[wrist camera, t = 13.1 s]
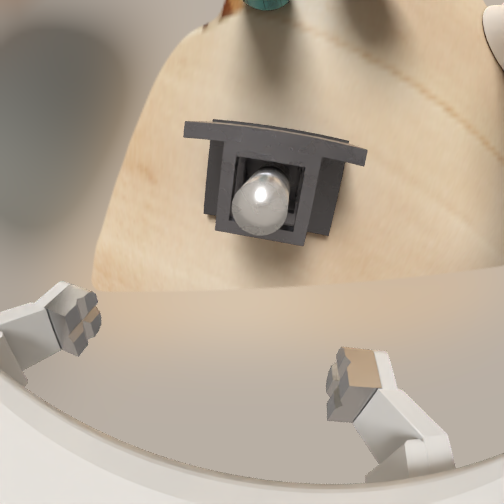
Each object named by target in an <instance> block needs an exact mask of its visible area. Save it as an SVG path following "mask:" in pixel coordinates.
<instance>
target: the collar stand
mask: <svg viewBox="0 0 504 504" xmlns="http://www.w3.org/2000/svg"><path fill="white" fill-rule="evenodd" d="M183 137H184V138H197V139H208V140H210V149H209V158H208V168H207V179H206V190H205V202H204V214H209V215H216V226H215V230H216V231H221V232H227V233H233V234H239V235H244V236H250V237H255V238H261V239H267V240H272V241H278V242H283V243H289V244H294V245H299V246H304V242H305V238H306V233H307V232H312V233H317V234H322V235H327V236H329V231H330V227H331V223H332V219H333V215H334V211H335V206H336V202H337V197H338V193H339V188H340V184H341V179H342V174H343V169H344V164H345V162H348V163H352V164H356V165H360V166H364V165H365V160H366V155H367V150H366V149H363V148H360V147H357V146H354V145H351V144H349V141H347V140H342V139H338V138H334V137H329V136H324V135H320V134H315V133H310V132H304V131H299V130H293V129H287V128H281V127H275V126H268V125H261V124H253V123H245V122H237V121H227V120H216V119H213V122H204V121H185V126H184V136H183ZM269 161H272V162H278V163H283V164H284V165H285V166H286V167H287V168H288V170H289V172H290V175H291V181H290V184H291V189H290V195H289V202H288V211H287V217H286V220H285V222H284V223H283V225H282V226H281V227H280V228H279V229H278V230H277V231H275V232H273V233H271V234H268V235H263V236H259V235H253V234H250V233H248V232H246V231H244V230H243V229H242V228H240V227H239V225H238V224H237V223H236V221H235V219H234V217H233V214H232V201H233V198H234V196H235V194H236V193H237V191H238V190H239V189H240V188H241V187H242V186H243V185H244V184H245V183H246V182H247V181H248V179H249V178H250V177H251V175H252V174H253V173H254V172H255V171H256V170H257V169H259V168H260V167H261V166H262V165H263V164H264V163H266V162H269Z"/></svg>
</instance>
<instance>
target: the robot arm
mask: <svg viewBox="0 0 504 504" xmlns="http://www.w3.org/2000/svg"><path fill="white" fill-rule="evenodd" d="M483 26H484V31H485V35H486V38H487V41H488V43H489V46H490V48H491V50H492V52H493V54H494V56H495V58H496V59H497V61H498V63H499V64H500V66H501V67H502V69H503V70H504V3H503V4H502V5H491V6H489V7H487V8H486V9H485V11H484V14H483ZM97 303H98V300H97V296H96V294H95V293H94V292H92V291H90V290H87V289H84V288H81V287H79V286H76V285H73V284H70V283H67V282H65V281H61V282H59V283H58V284H56V285H55V286H54V287H53V288H51V289H50V290H49V291H48V292H47V293H45V294H44V295H43V296H42V297H41V298H40V299H39V300H37V301H36V302H35V303H32V302H31V303H28V304H25V305H21V306H18V307H15V308H12V309H9V310H6V311H3V312H0V504H504V453H502V454H499V455H497V456H494V457H492V458H488V459H486V460H483V461H480V462H476V463H473V464H470V465H467V466H463V467H460V468H455V463H454V459H453V454H452V450H451V446H450V442H449V439H448V435H447V434H446V433H445V432H444V431H443V430H442V429H441V428H440V427H439V426H438V425H437V424H436V423H435V422H434V421H433V420H432V419H431V418H430V417H429V416H428V415H427V414H426V413H425V412H424V411H423V410H422V409H421V408H420V407H419V406H418V405H417V404H416V403H415V402H414V401H413V400H412V399H411V398H410V397H409V396H408V395H407V394H406V393H405V392H404V391H403V390H402V389H398V387H397V384H396V380H395V376H394V373H393V369H392V366H391V362H390V359H389V356H388V353H387V352H386V351H383V350H369V349H359V348H349V347H341V348H340V349H339V351H338V353H337V356H336V358H337V362H336V363H334V364H333V365H332V366H331V368H330V370H329V373H328V377H327V383H326V392H327V394H328V395H329V396H330V399H329V401H328V403H327V420H328V421H338V422H351V423H353V426H354V427H355V428H356V430H357V432H358V433H359V435H360V436H361V438H362V439H363V441H364V442H365V444H366V445H367V447H368V448H369V450H370V451H371V453H372V454H373V456H374V457H375V459H376V460H377V462H378V463H379V465H378V466H377V467H376V468H374V469H373V470H372V471H370V472H369V473H368V474H367V475H366V476H365V483H355V484H310V483H292V482H282V481H272V480H264V479H256V478H250V477H244V476H238V475H232V474H228V473H223V472H218V471H214V470H209V469H205V468H201V467H197V466H193V465H190V464H186V463H183V462H179V461H176V460H172V459H169V458H166V457H163V456H160V455H157V454H154V453H152V452H149V451H146V450H143V449H140V448H138V447H135V446H133V445H130V444H128V443H126V442H123V441H120V440H118V439H116V438H114V437H111V436H109V435H107V434H105V433H103V432H101V431H99V430H97V429H94V428H92V427H90V426H88V425H86V424H84V423H83V422H81V421H79V420H77V419H75V418H73V417H71V416H70V415H68V414H66V413H64V412H63V411H61V410H59V409H57V408H56V407H54V406H52V405H51V404H49V403H48V402H46V401H44V400H43V399H41V398H40V397H38V396H37V395H35V394H34V393H32V392H31V391H29V390H28V389H26V388H25V386H26V385H27V383H28V379H27V378H26V376H25V375H24V372H23V370H25V369H27V368H29V367H30V366H32V365H34V364H36V363H38V362H40V361H42V360H44V359H46V358H47V357H49V356H51V355H53V354H55V353H57V352H59V351H61V349H62V350H64V351H67V352H69V353H71V354H73V355H75V356H80V354H81V353H82V352H83V350H84V349H85V348H86V347H87V345H88V339H90V338H92V337H95V335H96V334H97V333H98V331H99V329H100V326H101V315H100V311H99V310H98V308H97V307H96V304H97Z"/></svg>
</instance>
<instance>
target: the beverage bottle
mask: <svg viewBox="0 0 504 504" xmlns="http://www.w3.org/2000/svg"><path fill="white" fill-rule="evenodd" d="M288 1H289V0H244V2H245V3H246V5H247V4H248V5H249V6H251V7H253V8H255V9H259V10H274V9H278V8H280V7H282V6H284V5H285V4H286V3H288Z"/></svg>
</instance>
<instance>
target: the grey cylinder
mask: <svg viewBox="0 0 504 504" xmlns="http://www.w3.org/2000/svg"><path fill="white" fill-rule="evenodd" d="M290 181H291V175H290V172H289V170H288V168H287V167H286V166H285V165H284V164H283V163H278V162H272V161H269V162H266V163H264V164H263V165H262V166H261V167H260V168H259V169H257V170H256V171H255V172H254V173H253V174H252V175H251V177H250V178H249V179H248V181H247V182H246V183H245V184H244V185H243V186H242V187H241V188H240V189H239V190H238V191H237V193H236V194H235V196H234V198H233V201H232V214H233V217H234V219H235V221H236V223H237V224H238V225H239V227H240V228H242V229H243V230H244V231H246V232H248V233H250V234H253V235H259V236H263V235H268V234H271V233H273V232H275V231H277V230H278V229H279V228H280V227H281V226H282V225H283V223H284V222H285V220H286V217H287V211H288V202H289V195H290V189H291V184H290Z"/></svg>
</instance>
